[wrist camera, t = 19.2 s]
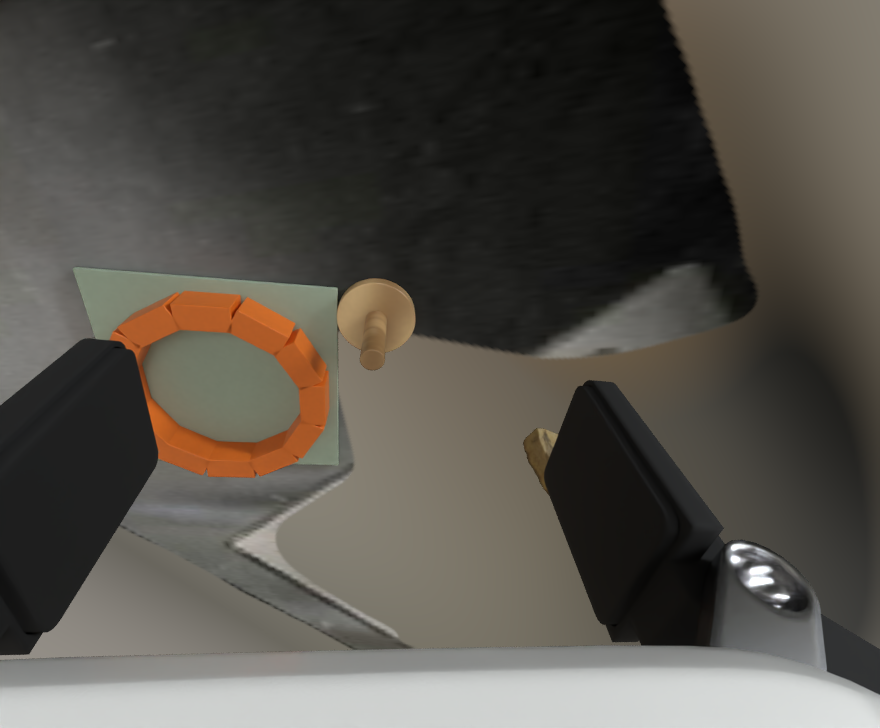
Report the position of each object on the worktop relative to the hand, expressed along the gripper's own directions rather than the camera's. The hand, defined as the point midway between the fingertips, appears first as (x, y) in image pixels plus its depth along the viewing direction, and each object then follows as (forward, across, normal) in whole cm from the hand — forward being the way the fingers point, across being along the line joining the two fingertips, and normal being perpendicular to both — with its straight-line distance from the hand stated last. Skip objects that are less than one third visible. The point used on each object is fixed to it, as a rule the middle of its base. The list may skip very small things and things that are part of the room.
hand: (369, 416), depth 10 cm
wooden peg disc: (+24, 0, +9) cm, 25 cm away
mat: (+24, +12, +16) cm, 31 cm away
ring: (+23, +11, +17) cm, 31 cm away
